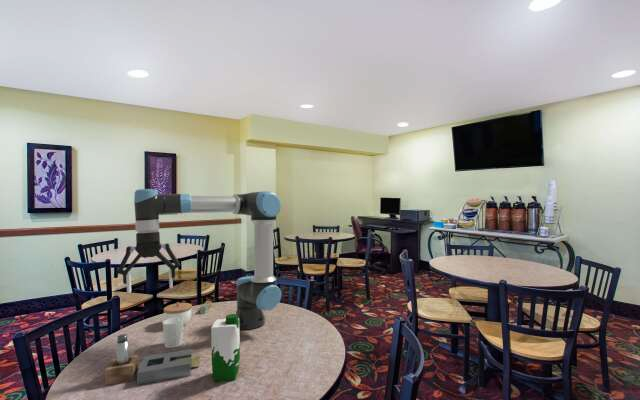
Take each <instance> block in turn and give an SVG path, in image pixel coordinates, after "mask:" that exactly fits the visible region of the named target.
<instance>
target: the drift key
mask: <svg viewBox="0 0 640 400" xmlns="http://www.w3.org/2000/svg"><path fill="white" fill-rule="evenodd" d="M200 355H201V354H200V353H196V354H195V355H192V357H186V358H191V368H197V367H200V366H201V361H200ZM186 358H180V359H176V360H181V359H186Z"/></svg>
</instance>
